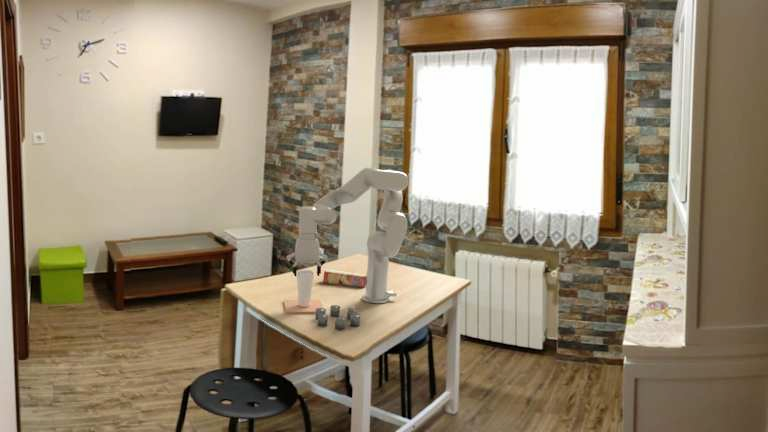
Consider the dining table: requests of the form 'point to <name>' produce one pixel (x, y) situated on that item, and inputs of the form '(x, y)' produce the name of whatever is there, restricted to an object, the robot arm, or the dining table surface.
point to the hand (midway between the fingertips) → (306, 275)
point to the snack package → (344, 278)
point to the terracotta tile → (293, 307)
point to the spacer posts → (339, 321)
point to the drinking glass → (304, 287)
